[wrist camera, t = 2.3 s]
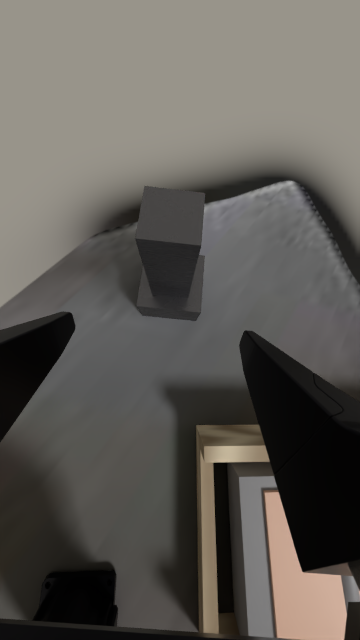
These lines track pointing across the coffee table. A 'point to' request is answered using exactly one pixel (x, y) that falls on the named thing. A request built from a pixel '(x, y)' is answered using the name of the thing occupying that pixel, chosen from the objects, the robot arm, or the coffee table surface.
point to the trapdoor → (277, 567)
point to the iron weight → (170, 253)
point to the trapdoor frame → (210, 449)
